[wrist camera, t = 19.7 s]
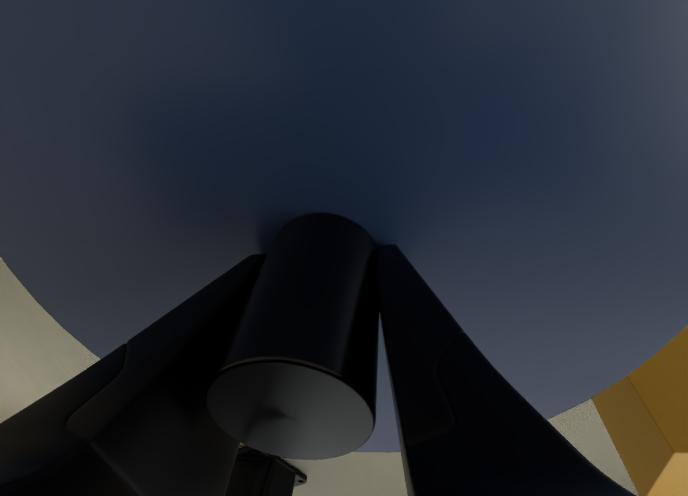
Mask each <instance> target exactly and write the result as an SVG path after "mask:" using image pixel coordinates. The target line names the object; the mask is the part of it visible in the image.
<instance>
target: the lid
mask: <svg viewBox="0 0 688 496" xmlns="http://www.w3.org/2000/svg"><path fill="white" fill-rule="evenodd" d="M390 244H395V245H397V246H398V247H399V249H400V250H401V251H402V253H403V254H404V255H405V256H406V258H407V259H408V260H409V261H410V263H411V264H412V265H413V267H414V268H415V269H416V270H417V272H418V273H419V274H420V275H421V277H422V278H423V279H424V281H425V282H426V283H427V284H428V286H429V287H430V288H431V289H432V291H433V292H434V293H435V294H436V296H437V297H438V298H439V300H440V301H441V302H442V303H443V305H444V306H445V307H446V308H447V310H448V311H449V312H450V314H451V315H452V316H453V317H454V319H455V320H456V321H457V322H458V324H459V325H460V326H461V328H462V329H463V330H464V332H465V333H466V334H467V335H468V336H469V337H470V339H471V340H472V341H473V343H474V344H475V345H476V346H477V348H478V349H479V350H480V351H481V352H482V353H483V355H484V356H485V357H486V358H487V359H488V361H489V362H490V363H491V364H492V365H493V366H494V368H495V369H496V370H497V371H498V372H499V373H500V374H501V375H502V376H503V377H504V378H505V379H506V380H507V381H508V382H509V383H510V384H511V385H512V386H513V387H514V388H515V389H516V390H517V391H518V392H519V393H520V394H521V395H522V396H523V397H524V398H525V399H526V400H527V401H528V402H529V403H530V404H531V405H532V406H533V407H534V408H535V409H536V410H537V411H538V412H539V413H540V414H541V415H542V416H543V417H544V418H545V419H549V418H552V417H554V416H556V415H558V414H560V413H562V412H564V411H567V410H569V409H571V408H573V407H575V406H577V405H579V404H581V403H583V402H585V401H587V400H589V399H591V398H592V397H594V396H596V395H597V394H599V393H601V392H602V391H604V390H606V389H607V388H609V387H611V386H612V385H614V384H616V383H617V382H619V381H621V380H622V379H624V378H625V377H626V376H628V375H629V374H630V373H632V372H633V371H634V370H636V369H637V368H638V367H640V366H641V365H643V364H644V363H645V362H647V361H648V360H649V359H651V358H652V357H653V356H655V355H656V354H657V353H658V352H659V351H660V350H661V349H662V348H664V347H665V346H666V345H667V344H668V343H669V342H670V341H671V340H672V339H673V338H675V337H676V336H677V335H678V334H679V333H680V332H681V331H682V330H683V329H684V328H685V327H687V326H688V0H0V256H1V258H2V259H3V261H4V262H5V263H6V265H7V266H8V268H9V269H10V270H11V272H12V273H13V274H14V275H15V276H16V278H17V279H18V280H19V281H20V282H21V283H22V285H23V286H24V287H25V288H26V289H27V291H28V292H29V293H30V294H31V295H32V297H33V298H34V299H35V300H36V301H37V302H38V303H39V304H40V305H41V306H42V307H43V308H44V309H45V310H46V311H47V312H48V313H49V314H50V315H51V316H52V317H53V318H54V319H55V320H56V321H57V322H58V323H59V324H60V325H61V326H62V327H63V328H64V329H65V330H66V331H67V332H68V333H70V334H71V335H72V336H73V337H74V338H75V339H77V340H78V341H79V342H80V343H81V344H82V345H84V346H85V347H86V348H87V349H88V350H90V351H91V352H92V353H93V354H95V355H96V356H97V357H99V358H100V359H102V358H104V357H105V356H107V355H108V354H109V353H111V352H112V351H114V350H115V349H117V348H118V347H119V346H121V345H122V344H124V343H126V344H127V341H128V340H130V339H131V338H132V337H134V336H135V335H137V334H138V333H140V332H141V331H142V330H144V329H145V328H147V327H148V326H150V325H151V324H152V323H154V322H155V321H157V320H158V319H160V318H161V317H162V316H164V315H165V314H167V313H168V312H170V311H171V310H172V309H174V308H175V307H177V306H178V305H180V304H181V303H182V302H184V301H185V300H187V299H188V298H190V297H191V296H192V295H194V294H195V293H197V292H198V291H200V290H201V289H202V288H204V287H205V286H207V285H208V284H210V283H211V282H212V281H214V280H215V279H217V278H218V277H220V276H221V275H222V274H224V273H225V272H227V271H228V270H230V269H231V268H232V267H234V266H235V265H237V264H238V263H240V262H241V261H242V260H244V259H245V258H247V257H248V256H250V255H254V254H267V256H266V258H265V260H264V262H263V265H262V267H261V269H260V271H259V273H258V275H257V277H256V280H255V282H254V284H253V286H252V288H251V290H250V293H249V295H248V297H247V299H246V301H245V303H244V305H243V308H242V310H241V312H240V314H239V316H238V318H237V320H236V323H235V325H234V327H233V329H232V331H231V333H230V335H229V338H228V340H227V342H226V344H225V346H224V348H223V350H222V353H221V355H220V357H219V359H218V361H217V363H216V365H215V368H214V370H213V372H212V374H211V376H210V378H209V380H208V383H207V385H206V389H205V404H206V408H207V410H208V412H209V414H210V416H211V417H212V419H213V420H214V421H215V423H216V424H217V425H218V426H219V427H220V428H221V429H222V430H223V431H224V432H226V433H227V434H228V435H230V436H231V437H233V438H234V439H236V440H237V441H239V442H241V443H243V444H245V445H247V446H249V447H251V448H254V449H256V450H259V451H262V452H265V453H268V454H272V455H275V456H280V457H285V458H292V459H302V460H318V459H328V458H334V457H338V456H342V455H345V454H348V453H350V452H352V451H354V452H401V449H400V443H399V437H398V430H397V424H396V418H395V411H394V405H393V398H392V392H391V386H390V379H389V373H388V367H387V360H386V354H385V347H384V340H383V333H382V326H381V318H380V311H379V304H378V297H377V290H376V283H375V268H376V259H377V250H378V247H379V246H380V245H390Z"/></svg>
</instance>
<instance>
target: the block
mask: <svg viewBox="0 0 688 496" xmlns="http://www.w3.org/2000/svg"><path fill="white" fill-rule="evenodd" d="M591 399H592V401H593V403H594V405H595V407H596V409H597V411H598V413H599V415H600V417H601V419H602V421H603V423H604V425H605V427H606V429H607V431H608V433H609V435H610V437H611V439H612V441H613V443H614V445H615V447H616V449H617V451H618V453H619V455H620V457H621V459H622V461H623V463H624V465H625V467H626V469H627V471H628V473H629V475H630V477H631V480H632V482H633V484H634V486H635V488H636V490H637V492H638V494H639V496H688V326H687V327H685V328H684V329H683V330H682V331H681V332H680V333H679V334H678V335H677V336H676V337H675V338H673V339H672V340H671V341H670V342H669V343H668V344H667V345H666V346H665V347H664V348H662V349H661V350H660V351H659V352H658V353H657V354H656V355H655V356H653V357H652V358H651V359H649V360H648V361H647V362H645V363H644V364H643V365H641V366H640V367H638V368H637V369H636V370H634V371H633V372H632V373H630V374H629V375H628V376H626V377H625V378H624V379H622V380H621V381H619V382H617V383H616V384H614V385H612V386H611V387H609V388H607V389H606V390H604V391H602V392H601V393H599V394H597V395H596V396H594V397H592V398H591Z"/></svg>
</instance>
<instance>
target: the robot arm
mask: <svg viewBox="0 0 688 496" xmlns="http://www.w3.org/2000/svg"><path fill="white" fill-rule="evenodd" d="M266 256H267V254H254V255H250V256H248V257H247V258H245V259H244V260H242V261H241V262H240V263H238V264H237V265H235V266H234V267H232V268H231V269H230V270H228V271H227V272H225V273H224V274H222V275H221V276H220V277H218V278H217V279H215V280H214V281H212V282H211V283H210V284H208V285H207V286H205V287H204V288H202V289H201V290H200V291H198V292H197V293H195V294H194V295H192V296H191V297H190V298H188V299H187V300H185V301H184V302H182V303H181V304H180V305H178V306H177V307H175V308H174V309H172V310H171V311H170V312H168V313H167V314H165V315H164V316H162V317H161V318H160V319H158V320H157V321H155V322H154V323H152V324H151V325H150V326H148V327H147V328H145V329H144V330H142V331H141V332H140V333H138V334H137V335H135V336H134V337H132V338H131V339H130V340H128V341H127V344H126V343H124V344H122V345H121V346H119V347H118V348H117V349H115V350H114V351H112V352H111V353H109V354H108V355H107V356H105V357H104V358H102V359H101V360H99V361H98V362H96V363H95V364H93V365H92V366H90V367H89V368H87V369H86V370H84V371H83V372H81V373H80V374H78V375H77V376H75V377H74V378H72V379H71V380H69V381H67V382H66V383H64V384H63V385H61V386H60V387H58V388H56V389H55V390H53V391H52V392H50V393H49V394H47V395H45V396H44V397H42V398H41V399H39V400H37V401H36V402H34V403H33V404H31V405H29V406H28V407H26V408H25V409H23V410H21V411H20V412H18V413H17V414H15V415H13V416H12V417H10V418H9V419H7V420H5V421H4V422H2V423H1V424H0V496H292V493H293V488H294V486H298V485H301V484H305V483H306V481H307V476H306V475H305V474H303V473H302V472H300V471H299V470H297V469H296V468H294V467H292V466H291V465H289V464H288V463H286V462H285V461H283V460H282V459H280V458H279V457H277V456H275V455H272V454H268V453H265V452H262V451H259V450H256V449H254V448H251V447H249V446H247V447H245V448H242V449H239V450H238V448H239V445H240V442H239V441H237V440H236V439H234V438H233V437H231V436H230V435H228V434H227V433H226V432H224V431H223V430H222V429H221V428H220V427H219V426H218V425H217V424H216V423H215V421H214V420H213V419H212V417H211V416H210V414H209V412H208V410H207V408H206V404H205V389H206V385H207V383H208V380H209V378H210V376H211V374H212V372H213V370H214V368H215V365H216V363H217V361H218V359H219V357H220V355H221V353H222V350H223V348H224V346H225V344H226V342H227V340H228V338H229V335H230V333H231V331H232V329H233V327H234V325H235V323H236V320H237V318H238V316H239V314H240V312H241V310H242V308H243V305H244V303H245V301H246V299H247V297H248V295H249V293H250V290H251V288H252V286H253V284H254V282H255V280H256V277H257V275H258V273H259V271H260V269H261V267H262V265H263V262H264V260H265V258H266ZM375 283H376V290H377V297H378V304H379V311H380V318H381V326H382V333H383V340H384V347H385V354H386V360H387V367H388V373H389V379H390V386H391V392H392V398H393V405H394V411H395V418H396V424H397V430H398V437H399V443H400V449H401V456H402V462H403V469H404V475H405V481H406V488H407V494H408V496H636V495H634V494H632V493H631V492H629V491H628V490H626V489H625V488H623V487H622V486H620V485H618V484H617V483H616V482H614V481H613V480H612V479H610V478H609V477H608V476H606V475H605V474H604V473H602V472H601V471H600V470H599V469H598V468H596V467H595V466H594V465H593V464H592V463H590V462H589V461H588V460H587V459H586V458H585V457H584V456H583V455H582V454H581V453H580V452H579V451H578V450H577V449H576V448H575V447H574V446H573V445H572V444H571V443H570V442H569V441H567V440H566V439H565V438H564V437H563V436H562V435H561V434H560V433H559V432H558V431H557V430H556V429H555V428H554V427H553V426H552V425H551V424H550V423H549V422H548V421H547V420H546V419H545V418H544V417H543V416H542V415H541V414H540V413H539V412H538V411H537V410H536V409H535V408H534V407H533V406H532V405H531V404H530V403H529V402H528V401H527V400H526V399H525V398H524V397H523V396H522V395H521V394H520V393H519V392H518V391H517V390H516V389H515V388H514V387H513V386H512V385H511V384H510V383H509V382H508V381H507V380H506V379H505V378H504V377H503V376H502V375H501V374H500V373H499V372H498V371H497V370H496V369H495V368H494V366H493V365H492V364H491V363H490V362H489V361H488V359H487V358H486V357H485V356H484V355H483V353H482V352H481V351H480V350H479V349H478V348H477V346H476V345H475V344H474V343H473V341H472V340H471V339H470V337H469V336H468V335H467V334H466V333H465V332H464V330H463V329H462V328H461V326H460V325H459V324H458V322H457V321H456V320H455V319H454V317H453V316H452V315H451V314H450V312H449V311H448V310H447V308H446V307H445V306H444V305H443V303H442V302H441V301H440V300H439V298H438V297H437V296H436V294H435V293H434V292H433V291H432V289H431V288H430V287H429V286H428V284H427V283H426V282H425V281H424V279H423V278H422V277H421V275H420V274H419V273H418V272H417V270H416V269H415V268H414V267H413V265H412V264H411V263H410V261H409V260H408V259H407V258H406V256H405V255H404V254H403V253H402V251H401V250H400V249H399V247H398V246H397V245H395V244H390V245H380V246H379V247H378V250H377V259H376V268H375Z"/></svg>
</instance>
